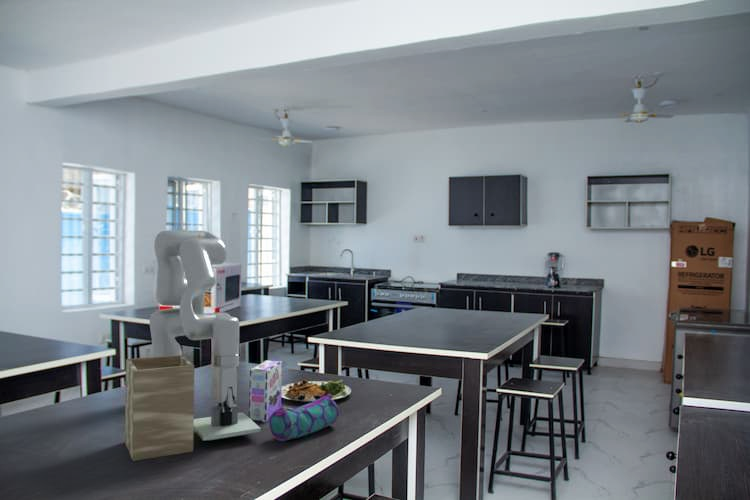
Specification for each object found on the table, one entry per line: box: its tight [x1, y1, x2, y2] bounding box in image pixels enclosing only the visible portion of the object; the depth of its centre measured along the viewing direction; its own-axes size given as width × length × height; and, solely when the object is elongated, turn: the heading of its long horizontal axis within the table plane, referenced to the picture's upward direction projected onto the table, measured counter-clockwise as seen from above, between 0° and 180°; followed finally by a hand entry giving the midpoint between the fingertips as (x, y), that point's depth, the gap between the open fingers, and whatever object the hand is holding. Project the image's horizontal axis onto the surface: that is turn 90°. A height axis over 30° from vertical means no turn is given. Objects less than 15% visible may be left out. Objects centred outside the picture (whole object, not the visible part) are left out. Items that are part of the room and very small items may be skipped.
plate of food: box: [281, 379, 352, 403], centre depth 213 cm, size 28×28×6 cm
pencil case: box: [268, 394, 339, 442], centre depth 173 cm, size 21×9×10 cm, turn 141°
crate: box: [124, 354, 195, 462], centre depth 159 cm, size 15×15×23 cm
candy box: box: [248, 359, 283, 423], centre depth 188 cm, size 14×6×16 cm, turn 168°
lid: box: [193, 403, 262, 441], centre depth 168 cm, size 16×16×7 cm
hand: (224, 423), depth 169 cm, fingers closed on lid, 2 cm apart
